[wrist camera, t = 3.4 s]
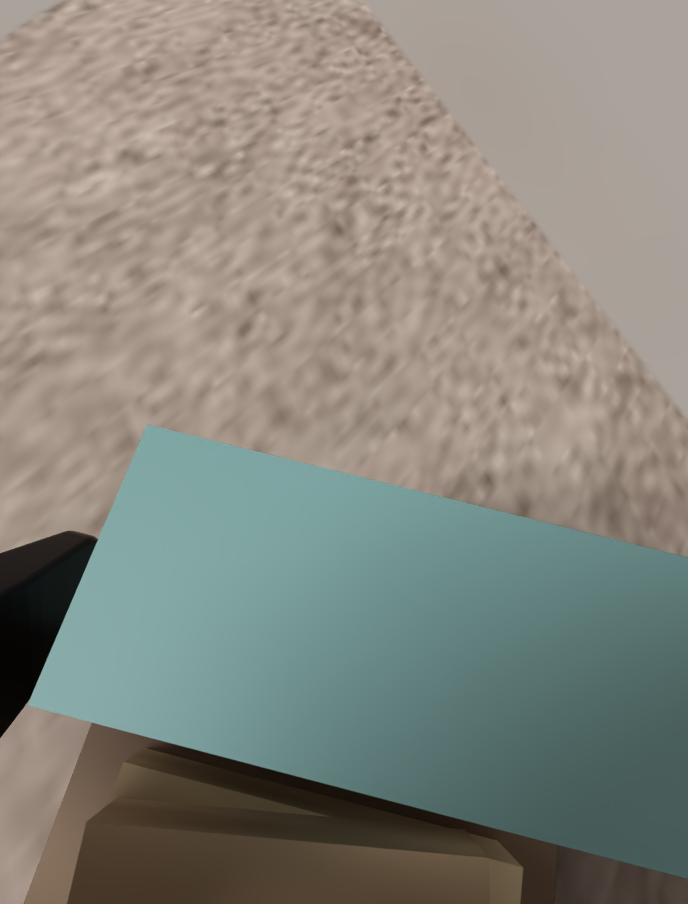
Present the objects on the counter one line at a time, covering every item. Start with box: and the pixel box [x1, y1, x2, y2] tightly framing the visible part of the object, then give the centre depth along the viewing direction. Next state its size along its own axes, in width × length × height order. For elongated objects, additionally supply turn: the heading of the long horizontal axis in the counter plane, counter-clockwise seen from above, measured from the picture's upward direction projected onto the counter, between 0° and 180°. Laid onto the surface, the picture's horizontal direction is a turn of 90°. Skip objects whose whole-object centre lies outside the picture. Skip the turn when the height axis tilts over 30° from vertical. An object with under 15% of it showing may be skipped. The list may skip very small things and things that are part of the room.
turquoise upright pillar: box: [27, 425, 688, 879], centre depth 9 cm, size 2×6×11 cm, turn 77°
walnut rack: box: [24, 723, 558, 904], centre depth 12 cm, size 13×12×4 cm
